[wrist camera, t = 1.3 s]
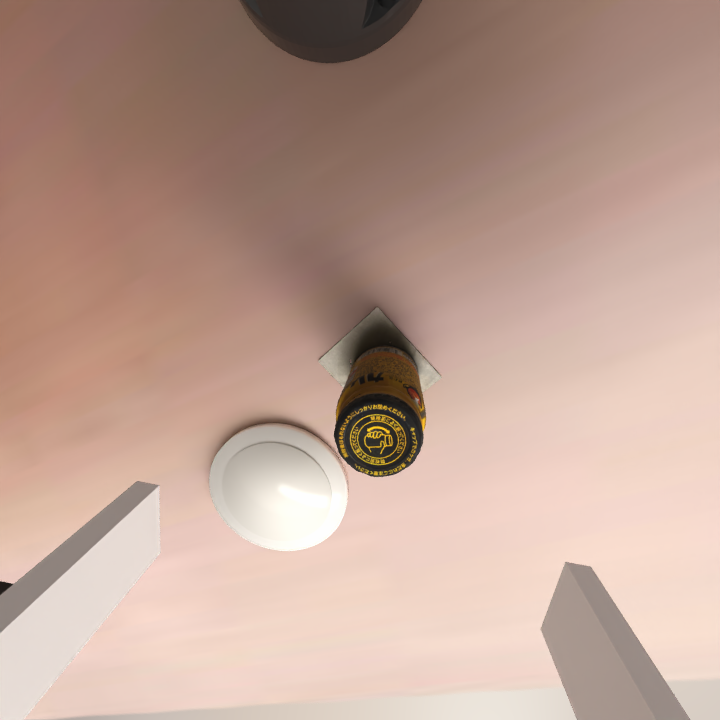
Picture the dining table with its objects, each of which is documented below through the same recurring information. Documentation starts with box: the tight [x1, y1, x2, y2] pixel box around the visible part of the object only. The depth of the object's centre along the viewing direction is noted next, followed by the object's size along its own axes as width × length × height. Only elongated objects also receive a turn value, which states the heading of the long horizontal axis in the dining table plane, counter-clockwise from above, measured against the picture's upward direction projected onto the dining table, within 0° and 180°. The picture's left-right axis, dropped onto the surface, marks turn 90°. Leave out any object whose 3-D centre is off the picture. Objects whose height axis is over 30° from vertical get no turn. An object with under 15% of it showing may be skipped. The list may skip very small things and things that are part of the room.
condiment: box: [318, 307, 442, 477], centre depth 26 cm, size 7×8×12 cm
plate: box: [209, 423, 348, 551], centre depth 35 cm, size 14×14×1 cm
